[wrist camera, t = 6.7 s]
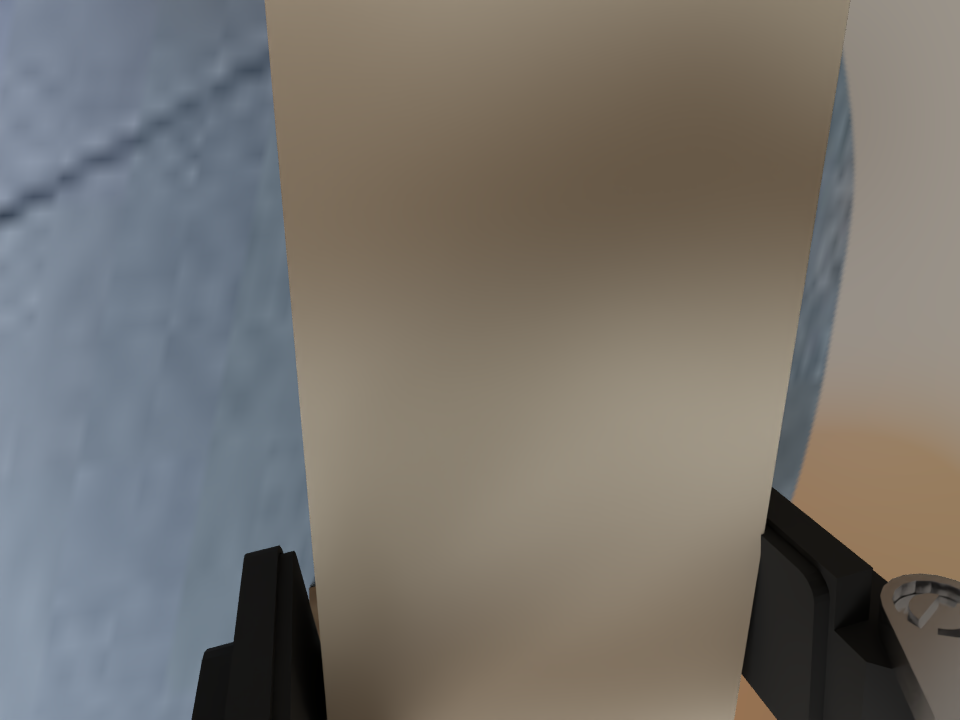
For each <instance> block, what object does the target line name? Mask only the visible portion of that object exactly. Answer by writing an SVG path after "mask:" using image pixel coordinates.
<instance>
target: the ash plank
mask: <svg viewBox="0 0 960 720" xmlns="http://www.w3.org/2000/svg"><path fill="white" fill-rule="evenodd" d="M849 6H850V0H265V9H266V21H267V32H268V44H269V55H270V67H271V78H272V90H273V101H274V113H275V124H276V136H277V147H278V159H279V170H280V181H281V193H282V204H283V216H284V227H285V239H286V250H287V262H288V273H289V285H290V296H291V308H292V319H293V331H294V342H295V354H296V365H297V377H298V388H299V400H300V411H301V423H302V434H303V445H304V457H305V468H306V480H307V491H308V503H309V514H310V526H311V537H312V549H313V560H314V572H315V583H316V595H317V606H318V618H319V629H320V641H321V652H322V664H323V675H324V687H325V698H326V709H327V720H734V716H735V710H736V703H737V698H738V691H739V685H740V679H741V673H742V667H743V661H744V654H745V648H746V642H747V636H748V630H749V624H750V617H751V611H752V605H753V599H754V593H755V586H756V580H757V574H758V568H759V562H760V556H761V534H764V531H765V525H766V519H767V512H768V506H769V500H770V494H771V488H772V482H773V475H774V469H775V463H776V457H777V451H778V445H779V438H780V432H781V426H782V420H783V414H784V407H785V401H786V395H787V389H788V383H789V377H790V370H791V364H792V358H793V352H794V346H795V340H796V333H797V327H798V321H799V315H800V309H801V303H802V296H803V290H804V284H805V278H806V272H807V266H808V259H809V253H810V247H811V241H812V235H813V228H814V222H815V216H816V210H817V204H818V198H819V191H820V185H821V179H822V173H823V167H824V161H825V154H826V148H827V142H828V136H829V130H830V124H831V117H832V111H833V105H834V99H835V93H836V87H837V80H838V74H839V68H840V62H841V56H842V50H843V43H844V37H845V31H846V25H847V19H848V12H849Z"/></svg>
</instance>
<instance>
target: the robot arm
mask: <svg viewBox="0 0 960 720" xmlns="http://www.w3.org/2000/svg"><path fill="white" fill-rule="evenodd" d="M741 674H742V675H743V676H744V678H745V679H746V680H747V681H748V683H749V684H750V685H751V687H752V688H753V689H754V690H755V692H756V693H757V694H758V696H759V697H760V698H761V699H762V701H763V702H764V703H765V704H766V706H767V707H768V708H769V709H770V711H771V712H772V713H773V715H774V716H775V717H776V718H777V720H960V582H958V581H956V580H952V579H949V578H945V577H942V576H938V575H928V574H910V575H902V576H900V577H897V578H894V579H892V580H890V581H889V582H887V581H886V580H885V579H883V578H882V577H881V576H880V575H878V574H877V573H876V572H875V571H873V568H872V567H871V566H870V565H869V564H867V563H866V562H865V561H864V560H862V559H861V558H860V557H858V556H857V555H856V554H855V553H854V552H852V551H851V550H850V549H849V548H847V547H846V546H845V545H844V544H842V543H841V542H840V541H839V540H837V539H836V538H835V537H833V536H832V535H831V534H830V533H829V532H827V531H826V530H825V529H824V528H822V527H821V526H820V525H819V524H818V523H816V522H815V521H814V520H813V519H811V518H810V517H809V516H807V515H806V514H805V513H804V512H802V511H801V510H800V509H799V508H798V507H796V506H795V505H794V504H793V503H791V502H790V501H789V500H788V499H786V498H785V497H784V496H783V495H781V494H780V493H779V492H778V491H776V490H775V489H774V488H773V487H772V488H771V494H770V500H769V506H768V512H767V519H766V525H765V531H764V534H761V556H760V562H759V568H758V574H757V580H756V586H755V593H754V599H753V605H752V611H751V617H750V624H749V630H748V636H747V642H746V648H745V654H744V661H743V667H742V673H741ZM192 720H327V709H326V698H325V687H324V675H323V664H322V652H321V642H320V639H319V635H318V631H317V628H316V624H315V621H314V617H313V613H312V610H311V606H310V602H309V599H308V595H307V592H306V588H305V584H304V581H303V577H302V574H301V570H300V566H299V563H298V559H297V556H296V553H295V552H294V551H292V552H288V553H284V554H283V551H282V548H281V547H280V546H275V547H271V548H267V549H263V550H259V551H255V552H251V553H247V554H245V556H244V562H243V570H242V578H241V586H240V594H239V602H238V610H237V619H236V627H235V635H234V642H232V643H228V644H224V645H221V646H217V647H213V648H209V649H207V650H206V651H205V652H204V655H203V659H202V664H201V669H200V675H199V681H198V686H197V692H196V697H195V703H194V709H193V714H192Z"/></svg>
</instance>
